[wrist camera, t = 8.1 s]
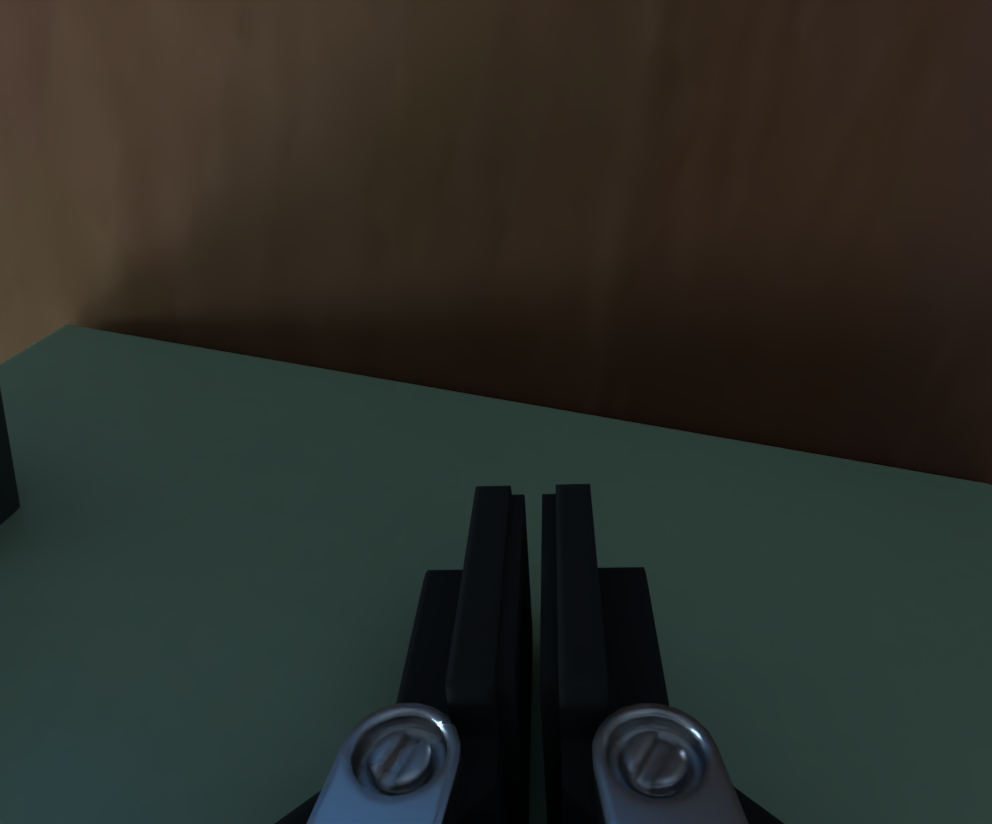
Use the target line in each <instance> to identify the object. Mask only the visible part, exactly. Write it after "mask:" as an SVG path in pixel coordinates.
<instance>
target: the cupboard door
mask: <svg viewBox="0 0 992 824" xmlns="http://www.w3.org/2000/svg"><path fill="white" fill-rule="evenodd" d="M556 484H590V488H591V499H592V510H593V521H594V532H595V543H596V554H597V565H598V568H615V567H644V569H645V572H646V576H647V581H648V587H649V593H650V598H651V604H652V610H653V615H654V621H655V627H656V632H657V638H658V644H659V649H660V655H661V661H662V666H663V672H664V678H665V683H666V689H667V695H668V700H669V706H670V707H674V708H677V709H679V710H681V711H683V712H685V713H687V714H688V715H690V716H692V717H694V718H695V719H696V720H697V721H698V722H699V723H700V724H701V725H703V726H704V727H705V728H706V729H707V730H708V731H709V733H710V735H711V736H712V738H713V740H714V741H715V743H716V745H717V746H718V749H719V751H720V754H721V756H722V759H723V761H724V764H725V766H726V769H727V771H728V774H729V776H730V779H731V781H732V784H733V786H734V787H735V788H737V789H738V790H739V791H741V792H742V793H743V794H745V795H746V796H747V797H749V798H750V799H752V800H753V801H754V802H756V803H757V804H758V805H760V806H761V807H762V808H764V809H765V810H766V811H768V812H769V813H771V814H772V815H773V816H775V817H776V818H777V819H779V820H780V821H781V822H783V823H784V824H992V485H990V484H987V483H981V482H975V481H970V480H964V479H958V478H952V477H946V476H941V475H935V474H929V473H923V472H918V471H912V470H906V469H900V468H894V467H889V466H883V465H877V464H871V463H866V462H860V461H854V460H848V459H842V458H837V457H831V456H825V455H819V454H814V453H808V452H802V451H796V450H790V449H785V448H779V447H773V446H767V445H762V444H756V443H750V442H744V441H738V440H733V439H727V438H721V437H715V436H710V435H704V434H698V433H692V432H686V431H681V430H675V429H669V428H663V427H658V426H652V425H646V424H640V423H634V422H629V421H623V420H617V419H611V418H606V417H600V416H594V415H588V414H582V413H577V412H571V411H565V410H559V409H554V408H548V407H542V406H536V405H530V404H525V403H519V402H513V401H507V400H502V399H496V398H490V397H484V396H478V395H473V394H467V393H461V392H455V391H450V390H444V389H438V388H432V387H426V386H421V385H415V384H409V383H403V382H398V381H392V380H386V379H380V378H374V377H369V376H363V375H357V374H351V373H346V372H340V371H334V370H328V369H322V368H317V367H311V366H305V365H299V364H294V363H288V362H282V361H276V360H270V359H265V358H259V357H253V356H247V355H241V354H236V353H230V352H224V351H218V350H213V349H207V348H201V347H195V346H189V345H184V344H178V343H172V342H166V341H161V340H155V339H149V338H143V337H137V336H132V335H126V334H120V333H114V332H109V331H103V330H97V329H91V328H85V327H80V326H74V325H65V326H63V327H61V328H60V329H58V330H56V331H55V332H53V333H51V334H50V335H48V336H46V337H45V338H43V339H41V340H40V341H38V342H36V343H35V344H33V345H31V346H30V347H28V348H26V349H25V350H23V351H21V352H20V353H18V354H16V355H15V356H13V357H11V358H10V359H8V360H6V361H5V362H3V363H1V364H0V824H275V823H276V822H277V821H279V820H280V819H282V818H283V817H284V816H286V815H287V814H289V813H290V812H291V811H293V810H294V809H295V808H297V807H298V806H300V805H301V804H302V803H304V802H305V801H307V800H308V799H309V798H311V797H312V796H314V795H315V794H316V793H318V792H319V791H320V790H322V788H323V786H324V783H325V781H326V779H327V777H328V774H329V772H330V770H331V768H332V766H333V763H334V761H335V759H336V757H337V754H338V752H339V750H340V748H341V745H342V743H343V742H344V740H345V739H346V737H347V736H348V734H349V732H350V731H351V729H352V728H353V727H354V726H355V725H357V724H358V723H359V722H360V721H361V720H362V719H363V718H364V717H365V716H367V715H369V714H371V713H373V712H375V711H377V710H378V709H380V708H383V707H386V706H390V705H394V704H396V702H397V697H398V693H399V688H400V684H401V679H402V675H403V670H404V665H405V661H406V656H407V652H408V647H409V643H410V638H411V634H412V629H413V625H414V620H415V616H416V611H417V607H418V602H419V598H420V593H421V589H422V584H423V580H424V577H425V573H426V572H427V571H428V570H463V565H464V559H465V552H466V546H467V539H468V533H469V526H470V520H471V514H472V507H473V501H474V494H475V489H476V487H477V486H511V491H512V495H517V494H524V496H525V509H526V526H527V543H528V559H529V576H530V593H531V609H532V627H533V659H532V700H531V742H530V783H529V824H547V806H546V789H545V771H544V754H543V736H542V718H541V700H540V612H541V535H542V494H556Z"/></svg>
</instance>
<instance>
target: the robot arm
mask: <svg viewBox="0 0 992 824" xmlns="http://www.w3.org/2000/svg"><path fill="white" fill-rule="evenodd" d="M532 659H533V627H532V609H531V593H530V576H529V559H528V543H527V526H526V509H525V496H524V494H517V495H512V491H511V486H477V487H476V489H475V494H474V501H473V507H472V514H471V520H470V526H469V533H468V539H467V546H466V552H465V559H464V565H463V570H428V571H427V572H426V573H425V577H424V580H423V584H422V589H421V593H420V598H419V602H418V607H417V611H416V616H415V620H414V625H413V629H412V634H411V638H410V643H409V647H408V652H407V656H406V661H405V665H404V670H403V675H402V679H401V684H400V688H399V693H398V697H397V702H396V704H394V705H390V706H386V707H383V708H380V709H378V710H377V711H375V712H373V713H371V714H369V715H367V716H365V717H364V718H363V719H362V720H361V721H360V722H359V723H358V724H357V725H355V726H354V727H353V728H352V729H351V731H350V732H349V734H348V736H347V737H346V739H345V740H344V742H343V743H342V745H341V748H340V750H339V752H338V754H337V757H336V759H335V761H334V763H333V766H332V768H331V770H330V772H329V774H328V777H327V779H326V781H325V783H324V786H323V788H322V790H320V791H319V792H318V793H316V794H315V795H314V796H312V797H311V798H309V799H308V800H307V801H305V802H304V803H302V804H301V805H300V806H298V807H297V808H295V809H294V810H293V811H291V812H290V813H289V814H287V815H286V816H284V817H283V818H282V819H280V820H279V821H277V822H276V823H275V824H529V783H530V742H531V700H532ZM540 700H541V718H542V736H543V754H544V771H545V789H546V806H547V824H784V823H783V822H781V821H780V820H779V819H777V818H776V817H775V816H773V815H772V814H771V813H769V812H768V811H766V810H765V809H764V808H762V807H761V806H760V805H758V804H757V803H756V802H754V801H753V800H752V799H750V798H749V797H747V796H746V795H745V794H743V793H742V792H741V791H739V790H738V789H737V788H735V787H734V786H733V784H732V781H731V779H730V776H729V774H728V771H727V769H726V766H725V764H724V761H723V759H722V756H721V754H720V751H719V749H718V746H717V745H716V743H715V741H714V740H713V738H712V736H711V735H710V733H709V731H708V730H707V729H706V728H705V727H704V726H703V725H701V724H700V723H699V722H698V721H697V720H696V719H695V718H694V717H692V716H690V715H688V714H687V713H685V712H683V711H681V710H679V709H677V708H674V707H670V706H669V700H668V695H667V689H666V683H665V678H664V672H663V666H662V661H661V655H660V649H659V644H658V638H657V632H656V627H655V621H654V615H653V610H652V604H651V598H650V593H649V587H648V581H647V576H646V572H645V569H644V567H615V568H598V565H597V554H596V543H595V532H594V521H593V510H592V499H591V488H590V484H556V494H542V535H541V612H540Z"/></svg>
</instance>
